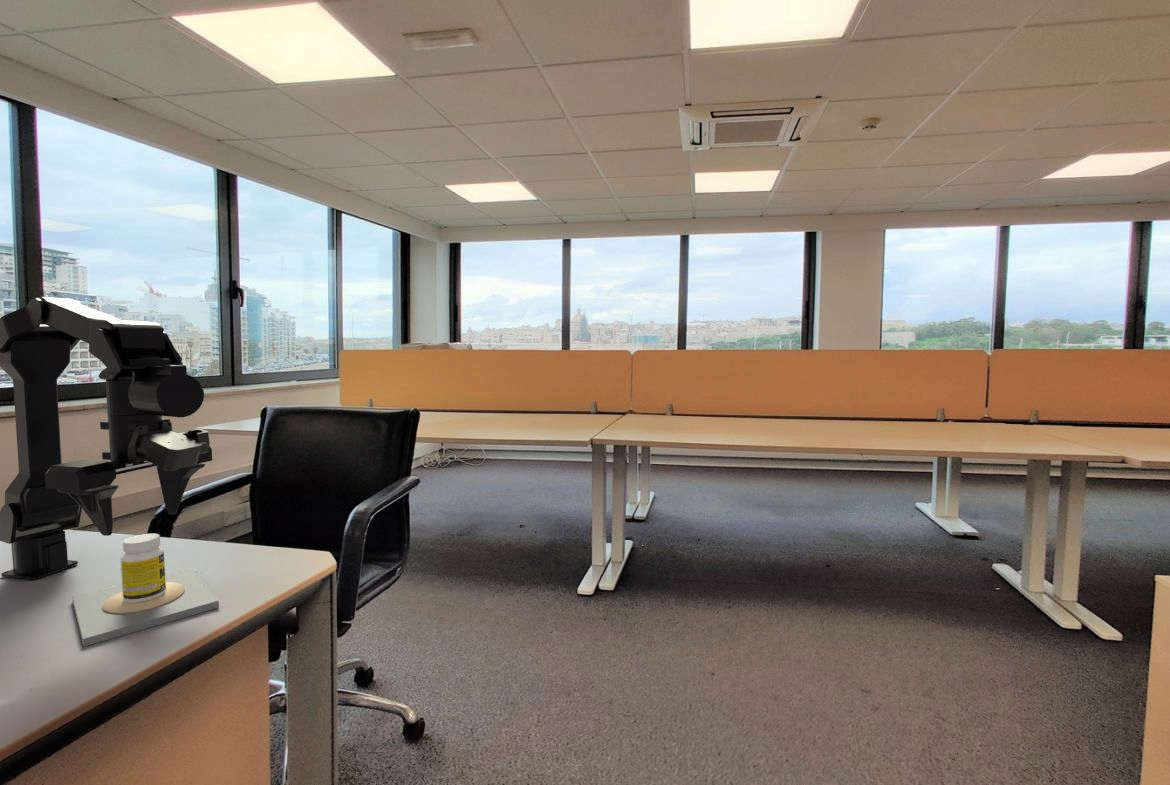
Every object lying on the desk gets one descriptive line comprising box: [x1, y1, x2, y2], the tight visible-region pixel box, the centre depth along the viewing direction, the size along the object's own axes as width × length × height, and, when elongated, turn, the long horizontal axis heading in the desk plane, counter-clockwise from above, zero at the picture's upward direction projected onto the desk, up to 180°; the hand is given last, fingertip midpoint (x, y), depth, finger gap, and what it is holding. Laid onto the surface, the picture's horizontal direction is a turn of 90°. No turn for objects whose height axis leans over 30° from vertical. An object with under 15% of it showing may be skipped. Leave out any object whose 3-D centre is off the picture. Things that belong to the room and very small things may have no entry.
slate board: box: [72, 567, 220, 648], centre depth 76 cm, size 16×14×1 cm
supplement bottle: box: [120, 533, 166, 603], centre depth 75 cm, size 5×5×8 cm
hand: (141, 524), depth 75 cm, fingers open, 9 cm apart
